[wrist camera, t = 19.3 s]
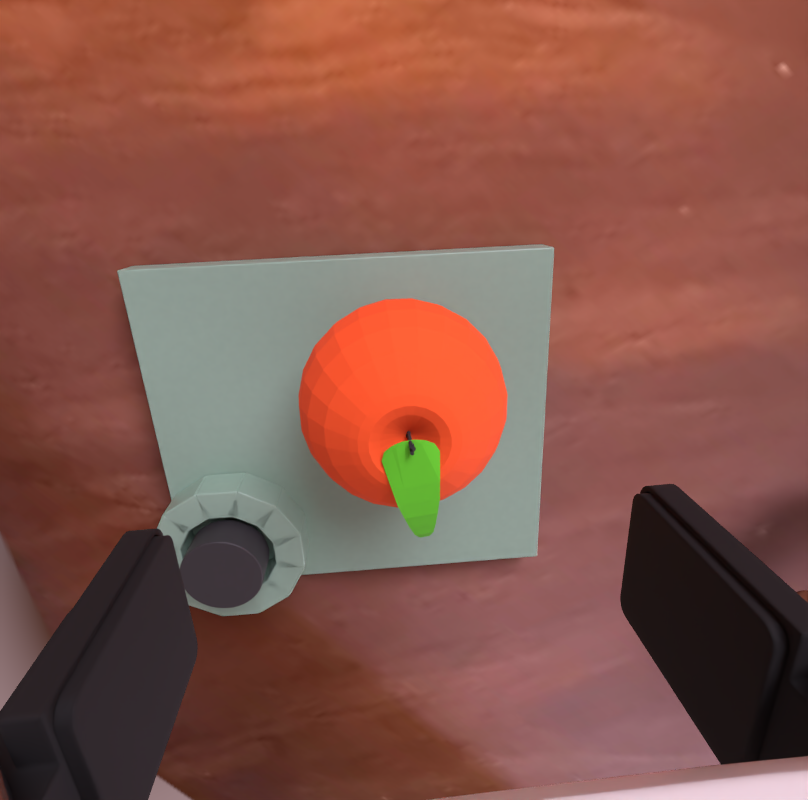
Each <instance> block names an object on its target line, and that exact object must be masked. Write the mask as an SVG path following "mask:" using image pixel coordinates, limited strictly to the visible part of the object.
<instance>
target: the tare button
mask: <svg viewBox="0 0 808 800" xmlns="http://www.w3.org/2000/svg"><path fill="white" fill-rule="evenodd" d="M269 554H270V553H269V547H268V544H267V542H266V540H265V538H264V537H263V535H262V534H261V533H260V532H259V531H258V530H257V529H255V528H254V527H252V526H251V525H249V524H246V523H244V522H241V521H236V520H220V521H216V522H213V523H210V524H208V525H206V526H204V527H203V528H202V529H201V530H199V531H198V533H197V534H196V535H195V537H194V539H193V540H192V542H191V544H190V546H189V548H188V550H187V552H186V554H185V556H184V558H183V560H182V562H181V565H180V572H181V576H182V580H183V584H184V589H185V590H186V592H187V593H188V594H189V595H190V596H191V597H192V598H194V599H195V600H197V601H198V602H200V603H202V604H204V605H207V606H211V607H215V608H233V607H237V606H240V605H243V604H245V603H247V602H248V601H250V600H251V599H252V598H254V597H255V596H256V594H257V593H258V592H259V590H260V589H261V586H262V583H263V580H264V576H265V572H266V569H267V565H268V561H269Z"/></svg>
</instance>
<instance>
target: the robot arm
mask: <svg viewBox="0 0 808 800" xmlns="http://www.w3.org/2000/svg"><path fill="white" fill-rule="evenodd" d="M620 600H621V607H622V610H623V613H624V615H625V617H626V618H627V620H628V621H629V623H630V625H631V626H632V628H633V629H634V631H635V632H636V634H637V635H638V637H639V638H640V640H641V642H642V643H643V645H644V646H645V648H646V649H647V651H648V652H649V654H650V655H651V657H652V659H653V660H654V662H655V663H656V665H657V666H658V668H659V669H660V671H661V672H662V674H663V676H664V677H665V679H666V680H667V682H668V683H669V685H670V686H671V688H672V689H673V691H674V692H675V694H676V696H677V697H678V699H679V700H680V702H681V703H682V705H683V706H684V708H685V709H686V711H687V713H688V714H689V716H690V717H691V719H692V720H693V722H694V723H695V725H696V726H697V728H698V730H699V731H700V733H701V734H702V736H703V737H704V739H705V740H706V742H707V743H708V745H709V747H710V748H711V750H712V751H713V753H714V754H715V756H716V757H717V759H718V760H719V762H720V764H721V765H713V766H705V767H696V768H688V769H679V770H670V771H662V772H653V773H645V774H636V775H628V776H619V777H611V778H602V779H594V780H585V781H577V782H568V783H560V784H552V785H544V786H536V787H528V788H519V789H511V790H503V791H495V792H487V793H479V794H470V795H462V796H454V797H446V798H438V799H430V800H808V602H807V601H805V600H804V599H803V598H802V597H801V596H800V595H799V594H798V593H796V592H795V591H794V590H793V589H792V588H791V587H790V586H789V585H787V584H786V583H785V582H784V581H783V580H782V579H781V578H780V577H779V576H777V575H776V574H775V573H774V572H773V571H772V570H771V569H770V568H768V567H767V566H766V565H765V564H764V563H763V562H762V561H761V560H759V559H758V558H757V557H756V556H755V555H754V554H753V553H752V552H750V551H749V550H748V549H747V548H746V547H745V546H744V545H743V544H742V543H740V542H739V541H738V540H737V539H736V538H735V537H734V536H733V535H731V534H730V533H729V532H728V531H727V530H726V529H725V528H724V527H722V526H721V525H720V524H719V523H718V522H717V521H716V520H715V519H713V518H712V517H711V516H710V515H709V514H708V513H707V512H706V511H705V510H703V509H702V508H701V507H700V506H699V505H698V504H697V503H696V502H694V501H693V500H692V499H691V498H690V497H689V496H688V495H687V494H685V493H684V492H683V491H682V490H681V489H680V488H679V487H677V486H676V485H674V484H665V485H653V486H645V487H643V488H642V490H641V492H640V494H636V495H635V496H634V499H633V504H632V512H631V520H630V527H629V535H628V543H627V550H626V558H625V566H624V573H623V581H622V589H621V598H620ZM197 648H198V647H197V638H196V634H195V630H194V625H193V621H192V617H191V613H190V609H189V605H188V601H187V597H186V593H185V589H184V584H183V580H182V576H181V572H180V568H179V564H178V560H177V556H176V552H175V547H174V543H173V540H172V538H171V536H169V535H164V536H163V533H162V532H161V530H160V529H147V530H135V531H128V532H126V533H125V534H124V535H123V536H122V538H121V539H120V541H119V542H118V543H117V545H116V546H115V548H114V549H113V551H112V552H111V554H110V555H109V557H108V558H107V559H106V561H105V562H104V564H103V565H102V567H101V568H100V570H99V571H98V573H97V574H96V576H95V577H94V578H93V580H92V581H91V583H90V584H89V586H88V587H87V589H86V590H85V592H84V593H83V594H82V596H81V597H80V599H79V600H78V602H77V603H76V605H75V606H74V608H73V609H72V610H71V611H70V612H69V613H68V614H67V615H66V617H65V618H64V620H63V621H62V623H61V624H60V625H59V627H58V628H57V630H56V631H55V633H54V634H53V636H52V637H51V639H50V640H49V641H48V643H47V644H46V646H45V647H44V649H43V650H42V652H41V653H40V655H39V656H38V657H37V659H36V660H35V662H34V663H33V665H32V666H31V667H30V669H29V670H28V672H27V673H26V675H25V676H24V678H23V679H22V681H21V682H20V683H19V685H18V686H17V688H16V689H15V691H14V692H13V693H12V695H11V696H10V698H9V699H8V701H7V702H6V704H5V705H4V707H3V708H2V709H1V711H0V800H148V798H149V795H150V792H151V789H152V786H153V783H154V780H155V778H156V775H157V772H158V769H159V766H160V763H161V760H162V757H163V754H164V751H165V748H166V746H167V743H168V740H169V737H170V734H171V731H172V728H173V725H174V722H175V719H176V716H177V714H178V711H179V708H180V705H181V702H182V699H183V696H184V693H185V690H186V687H187V684H188V682H189V679H190V676H191V673H192V670H193V667H194V664H195V661H196V657H197Z"/></svg>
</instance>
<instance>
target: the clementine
mask: <svg viewBox="0 0 808 800" xmlns="http://www.w3.org/2000/svg"><path fill="white" fill-rule="evenodd" d="M507 396H508V395H507V390H506V386H505V382H504V378H503V374H502V370H501V367H500V364H499V361H498V359H497V357H496V355H495V353H494V352H493V350H492V348H491V346H490V345H489V343H488V341H487V339H486V338H485V337H484V336H483V335H482V334H481V333H480V332H479V331H478V330H477V329H476V328H475V327H474V326H473V325H472V324H471V323H470V322H469V321H468V320H467V319H465V318H463V317H461V316H460V315H458V314H456V313H454V312H452V311H450V310H448V309H446V308H445V307H443V306H440V305H438V304H434V303H430V302H425V301H421V300H416V299H412V298H408V299H385V300H382V301H378V302H375V303H372V304H369V305H366V306H362V307H359V308H358V309H356V310H355V311H353V312H352V313H350V314H348V315H347V316H345V317H344V318H342V319H341V320H339V321H337V322H336V323H335V324H334V325H333V326H332V327H331V328H330V329H329V330H328V332H327V333H326V334H325V335H324V336H323V337H322V338H321V339H320V340H319V341H318V343H317V344H316V345H315V346H314V348H313V350H312V352H311V354H310V356H309V359H308V361H307V363H306V365H305V367H304V369H303V373H302V378H301V384H300V389H299V411H300V420H301V429H302V433H303V435H304V438H305V440H306V443H307V445H308V447H309V450H310V452H311V454H312V456H313V457H314V458H315V459H316V461H317V462H318V463H319V465H320V466H321V467H322V468H323V470H324V471H325V472H326V474H327V475H328V476H329V477H330V478H331V479H332V480H333V481H335V482H336V483H337V484H339V485H340V486H341V487H343V488H344V489H345V490H347V491H348V492H349V493H350V494H352V495H354V496H357V497H359V498H361V499H364V500H366V501H368V502H371V503H373V504H379V505H385V506H391V507H397V508H398V507H399V509H400V511H401V513H402V515H403V517H404V519H405V520H406V522H407V524H408V526H409V527H410V529H411V530H412V532H413V533H414V534H415V535H416V536H418V537H420V538H421V537H427V536H430V535H431V534H432V533H433V532H434V528H435V525H436V520H437V515H438V508H439V501H440V500H443V499H445V498H447V497H449V496H451V495H453V494H454V493H456V492H458V491H460V490H461V489H463V488H465V487H466V486H467V485H468V484H469V483H470V482H471V481H472V480H474V479H475V478H476V477H477V476H478V475H479V474H480V473H481V472H482V471H483V469H484V468H485V466H486V465H487V463H488V462H489V460H490V459H491V457H492V456H493V454H494V453H495V451H496V448H497V446H498V444H499V441H500V438H501V435H502V432H503V429H504V426H505V423H506V418H507Z"/></svg>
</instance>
